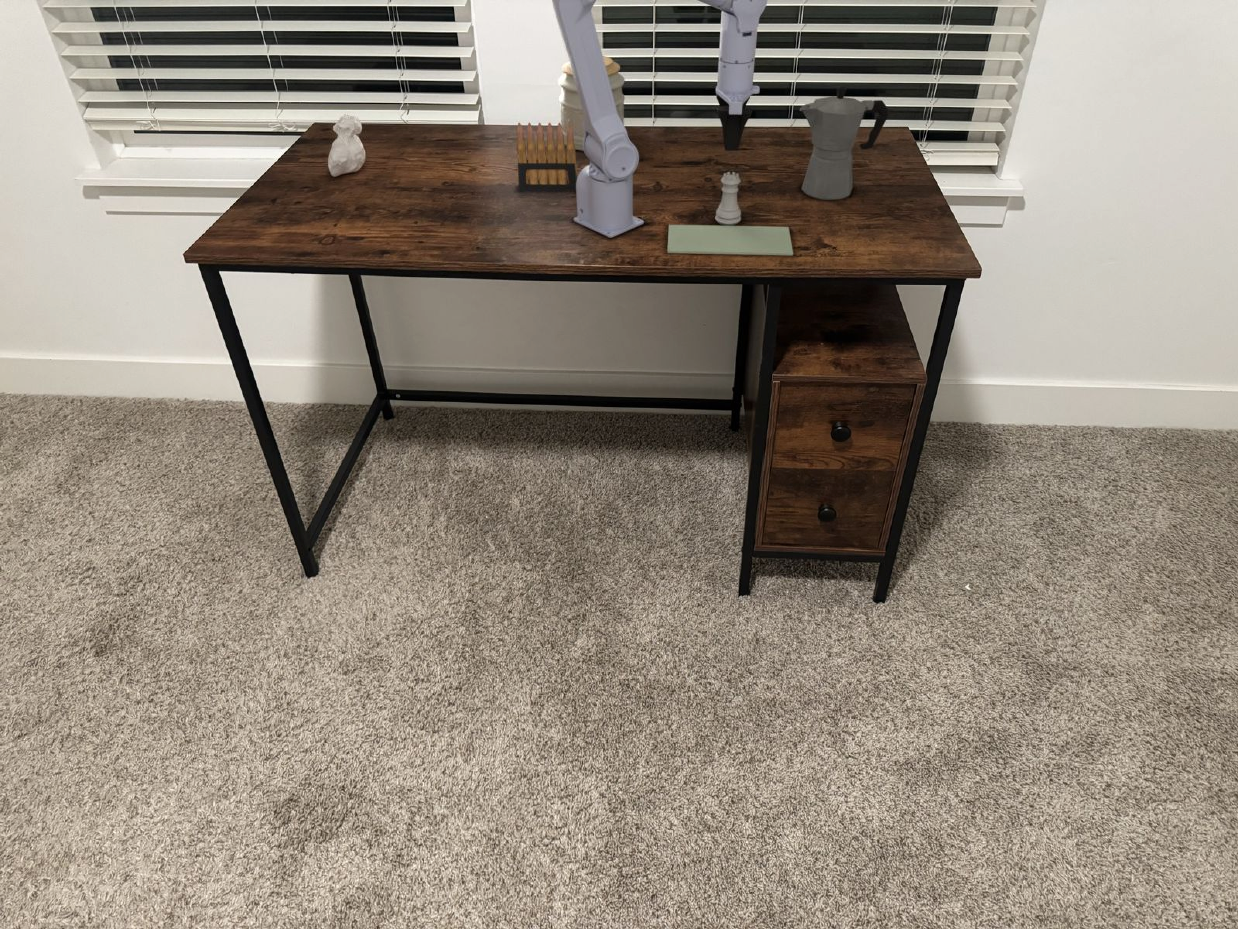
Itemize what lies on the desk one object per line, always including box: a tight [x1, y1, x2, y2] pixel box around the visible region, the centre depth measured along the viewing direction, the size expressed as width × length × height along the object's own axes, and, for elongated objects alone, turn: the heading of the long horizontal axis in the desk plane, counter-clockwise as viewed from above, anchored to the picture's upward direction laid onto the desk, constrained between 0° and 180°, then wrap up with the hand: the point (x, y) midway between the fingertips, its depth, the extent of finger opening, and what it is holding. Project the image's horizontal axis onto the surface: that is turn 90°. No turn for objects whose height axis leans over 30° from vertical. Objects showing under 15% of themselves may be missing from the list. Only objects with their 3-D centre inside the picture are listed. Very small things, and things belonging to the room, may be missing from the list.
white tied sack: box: [327, 113, 366, 178], centre depth 167 cm, size 12×8×11 cm
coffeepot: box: [799, 85, 890, 201], centre depth 155 cm, size 15×9×18 cm, turn 92°
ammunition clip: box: [516, 122, 578, 192], centre depth 159 cm, size 11×2×12 cm, turn 88°
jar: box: [557, 55, 626, 152], centre depth 175 cm, size 13×13×18 cm
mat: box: [666, 224, 794, 256], centre depth 145 cm, size 20×10×1 cm, turn 86°
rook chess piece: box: [714, 171, 742, 226], centre depth 149 cm, size 4×4×8 cm
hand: (730, 143), depth 150 cm, fingers open, 5 cm apart
